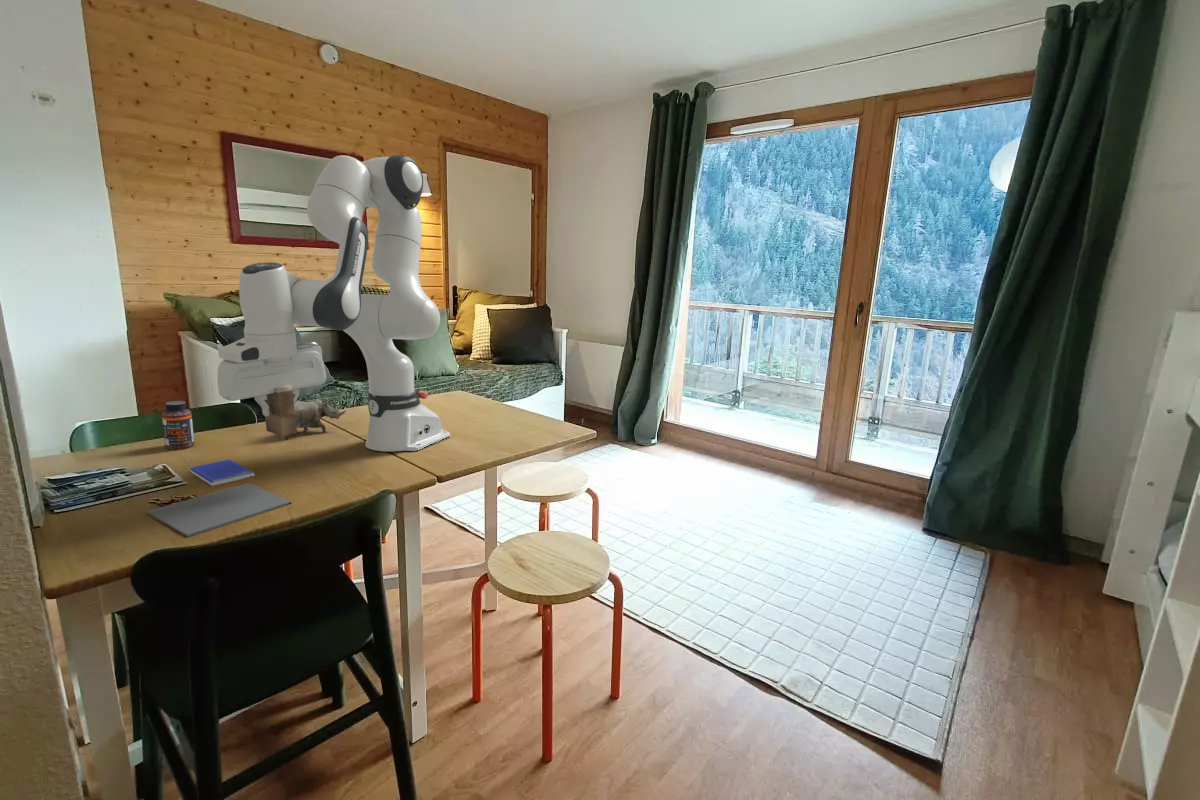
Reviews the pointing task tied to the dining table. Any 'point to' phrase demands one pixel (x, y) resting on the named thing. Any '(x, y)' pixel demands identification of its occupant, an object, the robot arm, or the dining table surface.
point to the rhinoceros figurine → (313, 415)
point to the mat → (217, 509)
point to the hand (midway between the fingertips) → (279, 412)
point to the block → (281, 412)
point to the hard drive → (221, 472)
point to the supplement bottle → (177, 426)
